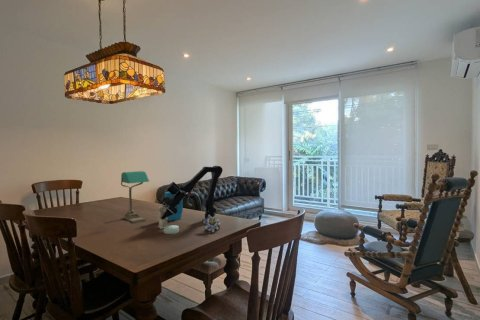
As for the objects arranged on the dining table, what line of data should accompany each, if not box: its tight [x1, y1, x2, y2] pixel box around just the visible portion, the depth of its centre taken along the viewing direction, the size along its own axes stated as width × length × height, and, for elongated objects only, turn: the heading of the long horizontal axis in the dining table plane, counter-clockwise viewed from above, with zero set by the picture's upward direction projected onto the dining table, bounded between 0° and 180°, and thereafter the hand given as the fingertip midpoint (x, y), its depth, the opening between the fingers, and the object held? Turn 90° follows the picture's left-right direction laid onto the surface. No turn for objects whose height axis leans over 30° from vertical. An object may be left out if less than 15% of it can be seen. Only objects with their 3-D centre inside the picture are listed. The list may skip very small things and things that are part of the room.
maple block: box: [157, 206, 168, 230], centre depth 176 cm, size 5×5×13 cm
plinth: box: [163, 224, 180, 235], centre depth 166 cm, size 9×9×3 cm
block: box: [164, 190, 184, 222], centre depth 195 cm, size 12×5×20 cm, turn 124°
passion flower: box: [201, 215, 222, 233], centre depth 168 cm, size 11×11×12 cm
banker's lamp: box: [120, 170, 150, 224], centre depth 196 cm, size 16×21×35 cm
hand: (160, 217), depth 175 cm, fingers open, 7 cm apart
